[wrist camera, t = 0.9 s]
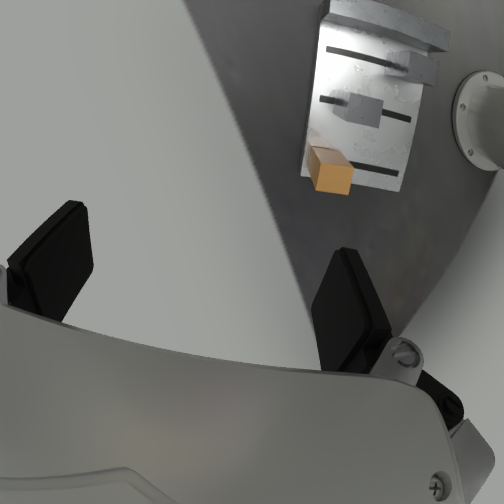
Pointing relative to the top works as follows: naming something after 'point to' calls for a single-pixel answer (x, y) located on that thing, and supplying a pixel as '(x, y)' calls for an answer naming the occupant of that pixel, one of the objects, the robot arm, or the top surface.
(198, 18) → the top surface
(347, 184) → the cap
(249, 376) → the robot arm
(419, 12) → the top surface
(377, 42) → the console
